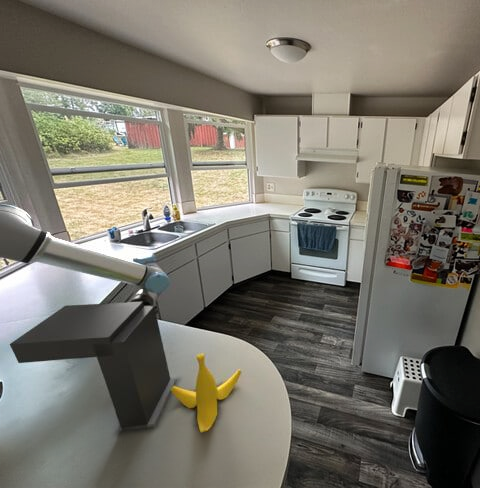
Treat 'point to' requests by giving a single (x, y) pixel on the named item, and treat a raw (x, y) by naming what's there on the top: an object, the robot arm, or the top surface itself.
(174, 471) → the top surface
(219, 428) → the top surface
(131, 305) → the coffee maker
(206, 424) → the banana peel
